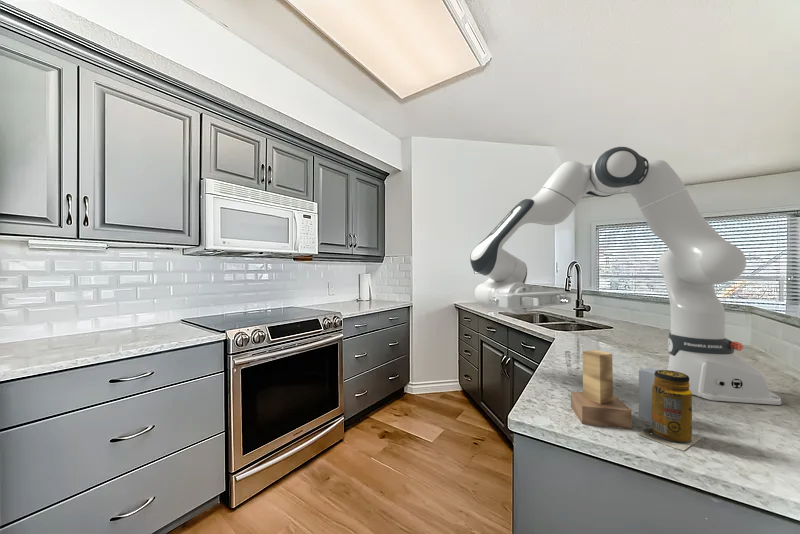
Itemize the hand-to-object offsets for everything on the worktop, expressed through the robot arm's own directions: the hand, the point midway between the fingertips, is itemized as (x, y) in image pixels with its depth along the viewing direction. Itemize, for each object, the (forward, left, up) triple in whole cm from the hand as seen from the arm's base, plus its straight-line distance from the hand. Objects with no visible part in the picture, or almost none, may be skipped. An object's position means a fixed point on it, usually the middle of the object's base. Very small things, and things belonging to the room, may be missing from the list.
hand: (555, 301), depth 86 cm
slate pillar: (-19, +5, -24) cm, 31 cm away
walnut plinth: (-8, +9, -24) cm, 27 cm away
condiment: (-19, +14, -24) cm, 34 cm away
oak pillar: (-8, +8, -20) cm, 23 cm away
